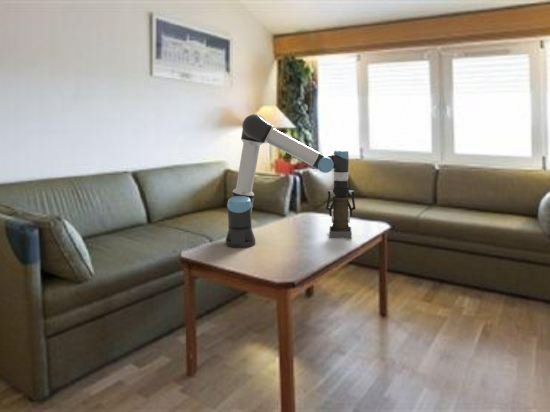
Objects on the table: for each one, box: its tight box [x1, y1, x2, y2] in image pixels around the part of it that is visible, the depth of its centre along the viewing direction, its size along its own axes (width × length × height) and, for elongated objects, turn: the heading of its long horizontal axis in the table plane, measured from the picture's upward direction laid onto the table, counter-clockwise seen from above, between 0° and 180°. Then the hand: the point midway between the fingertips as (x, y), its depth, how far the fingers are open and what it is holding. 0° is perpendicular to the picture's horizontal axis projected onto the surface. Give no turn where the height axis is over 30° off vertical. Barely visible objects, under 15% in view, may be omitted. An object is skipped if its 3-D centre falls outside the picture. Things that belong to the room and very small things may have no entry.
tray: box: [328, 225, 353, 239], centre depth 247 cm, size 12×12×4 cm
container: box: [331, 195, 350, 232], centre depth 245 cm, size 9×9×18 cm
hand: (340, 222), depth 245 cm, fingers closed on container, 8 cm apart
